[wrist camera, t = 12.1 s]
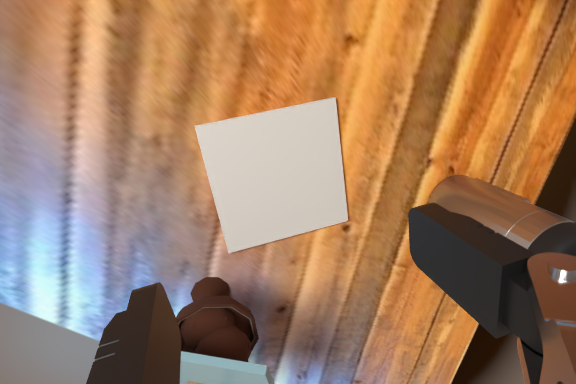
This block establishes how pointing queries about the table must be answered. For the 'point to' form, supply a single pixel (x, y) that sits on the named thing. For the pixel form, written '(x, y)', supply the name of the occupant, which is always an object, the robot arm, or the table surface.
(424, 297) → the table surface
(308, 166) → the mat
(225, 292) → the ice cream bowl
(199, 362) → the cover sheet
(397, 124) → the table surface
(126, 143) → the table surface
